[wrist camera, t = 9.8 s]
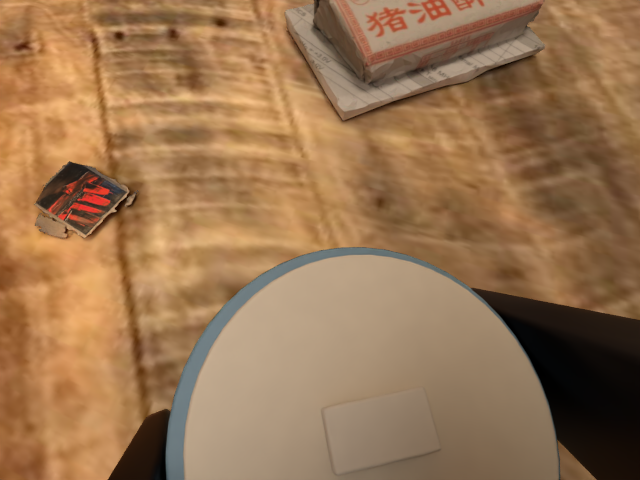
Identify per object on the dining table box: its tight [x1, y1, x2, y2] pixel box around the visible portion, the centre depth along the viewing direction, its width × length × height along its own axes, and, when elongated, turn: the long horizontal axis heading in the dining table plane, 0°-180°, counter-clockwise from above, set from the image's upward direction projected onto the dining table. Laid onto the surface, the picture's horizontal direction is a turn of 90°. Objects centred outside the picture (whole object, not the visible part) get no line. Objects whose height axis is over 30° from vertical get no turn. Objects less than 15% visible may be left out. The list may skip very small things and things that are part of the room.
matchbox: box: [34, 161, 138, 238], centre depth 24 cm, size 5×5×1 cm
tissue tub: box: [165, 247, 560, 480], centre depth 10 cm, size 7×7×9 cm
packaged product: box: [285, 0, 545, 121], centre depth 30 cm, size 18×5×10 cm
